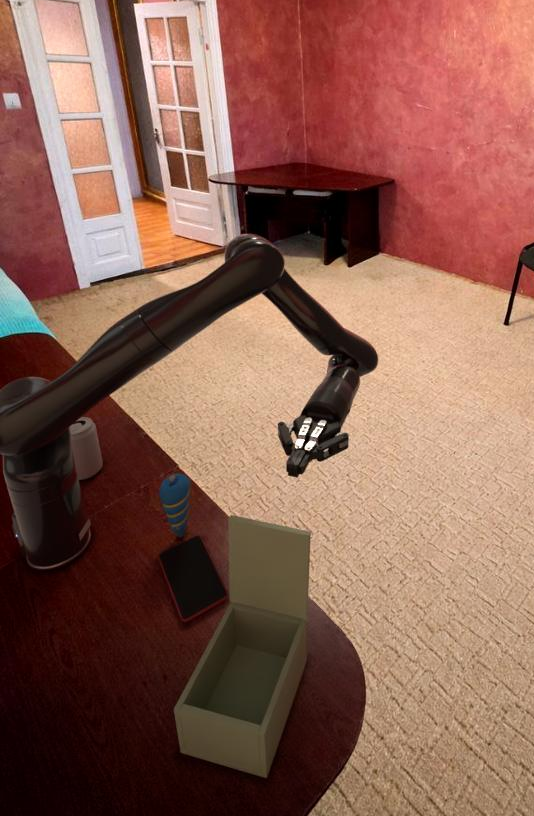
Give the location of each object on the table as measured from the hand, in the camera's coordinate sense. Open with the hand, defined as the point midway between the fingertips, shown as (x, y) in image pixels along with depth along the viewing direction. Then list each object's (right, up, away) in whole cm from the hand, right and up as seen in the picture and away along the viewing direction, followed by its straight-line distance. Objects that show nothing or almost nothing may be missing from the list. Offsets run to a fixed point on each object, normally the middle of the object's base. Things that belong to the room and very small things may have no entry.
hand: (292, 472), depth 72 cm
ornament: (-25, -19, +17) cm, 36 cm away
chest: (-5, -29, -6) cm, 30 cm away
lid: (-2, -11, -5) cm, 13 cm away
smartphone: (-19, -22, +10) cm, 31 cm away
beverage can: (-51, -12, +31) cm, 61 cm away
